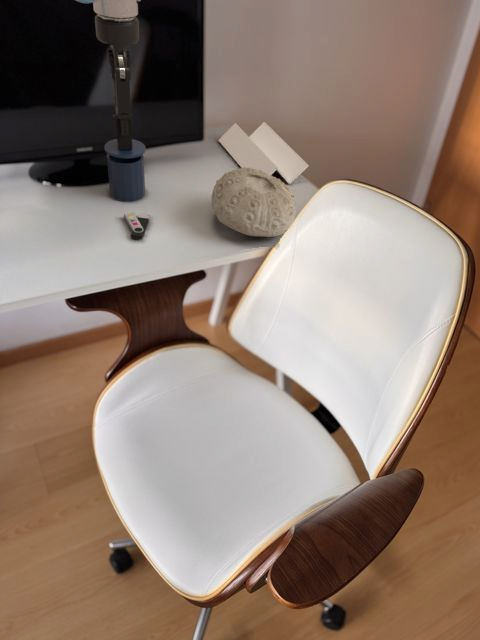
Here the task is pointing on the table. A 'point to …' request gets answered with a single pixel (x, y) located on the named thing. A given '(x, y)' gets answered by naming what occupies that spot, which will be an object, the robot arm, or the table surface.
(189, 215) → the table surface
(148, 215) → the usb flash drive
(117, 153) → the lid
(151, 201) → the table surface
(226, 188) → the decorative shell
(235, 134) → the z bracket
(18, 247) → the table surface
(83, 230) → the table surface
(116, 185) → the tin
